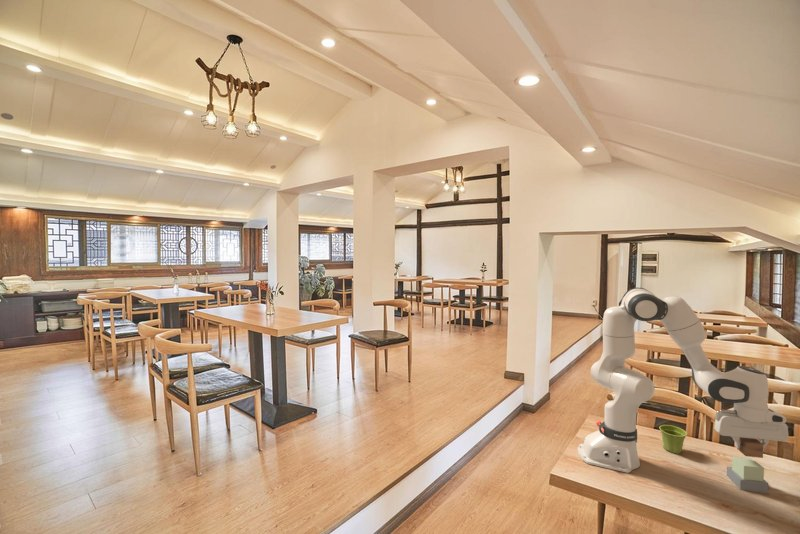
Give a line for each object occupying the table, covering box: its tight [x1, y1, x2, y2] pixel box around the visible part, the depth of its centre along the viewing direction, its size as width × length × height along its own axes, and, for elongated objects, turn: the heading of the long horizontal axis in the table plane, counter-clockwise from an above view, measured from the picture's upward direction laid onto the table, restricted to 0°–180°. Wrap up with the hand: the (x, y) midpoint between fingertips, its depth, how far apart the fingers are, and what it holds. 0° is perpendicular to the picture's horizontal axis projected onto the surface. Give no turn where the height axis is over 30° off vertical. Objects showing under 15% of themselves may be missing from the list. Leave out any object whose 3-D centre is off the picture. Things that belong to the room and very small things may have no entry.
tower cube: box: [731, 455, 765, 481], centre depth 129 cm, size 6×6×5 cm
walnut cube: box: [736, 437, 764, 459], centre depth 129 cm, size 5×5×5 cm
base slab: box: [726, 466, 769, 494], centre depth 129 cm, size 8×8×4 cm
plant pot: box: [659, 424, 688, 454], centre depth 152 cm, size 9×9×9 cm
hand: (749, 448), depth 129 cm, fingers closed on walnut cube, 5 cm apart
